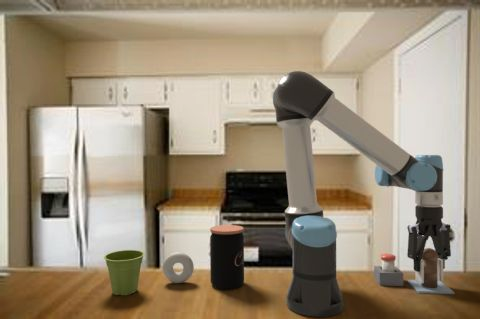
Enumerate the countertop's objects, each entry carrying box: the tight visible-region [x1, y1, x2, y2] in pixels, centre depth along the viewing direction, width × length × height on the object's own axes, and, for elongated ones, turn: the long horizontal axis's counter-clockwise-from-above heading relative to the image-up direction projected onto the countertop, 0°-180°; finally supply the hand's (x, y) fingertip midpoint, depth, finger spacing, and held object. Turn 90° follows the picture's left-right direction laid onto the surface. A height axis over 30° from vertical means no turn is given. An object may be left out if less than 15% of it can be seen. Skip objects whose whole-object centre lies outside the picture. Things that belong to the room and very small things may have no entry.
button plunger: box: [380, 253, 397, 272], centre depth 118 cm, size 4×4×7 cm
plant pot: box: [103, 249, 146, 296], centre depth 111 cm, size 12×12×11 cm
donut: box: [162, 251, 195, 284], centre depth 118 cm, size 10×4×10 cm, turn 93°
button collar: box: [373, 265, 404, 287], centre depth 118 cm, size 7×7×4 cm
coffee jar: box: [209, 224, 245, 291], centre depth 116 cm, size 11×11×18 cm
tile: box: [406, 279, 455, 295], centre depth 112 cm, size 10×10×1 cm
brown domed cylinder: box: [421, 247, 439, 288], centre depth 112 cm, size 5×5×11 cm
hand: (429, 280), depth 112 cm, fingers open, 6 cm apart
